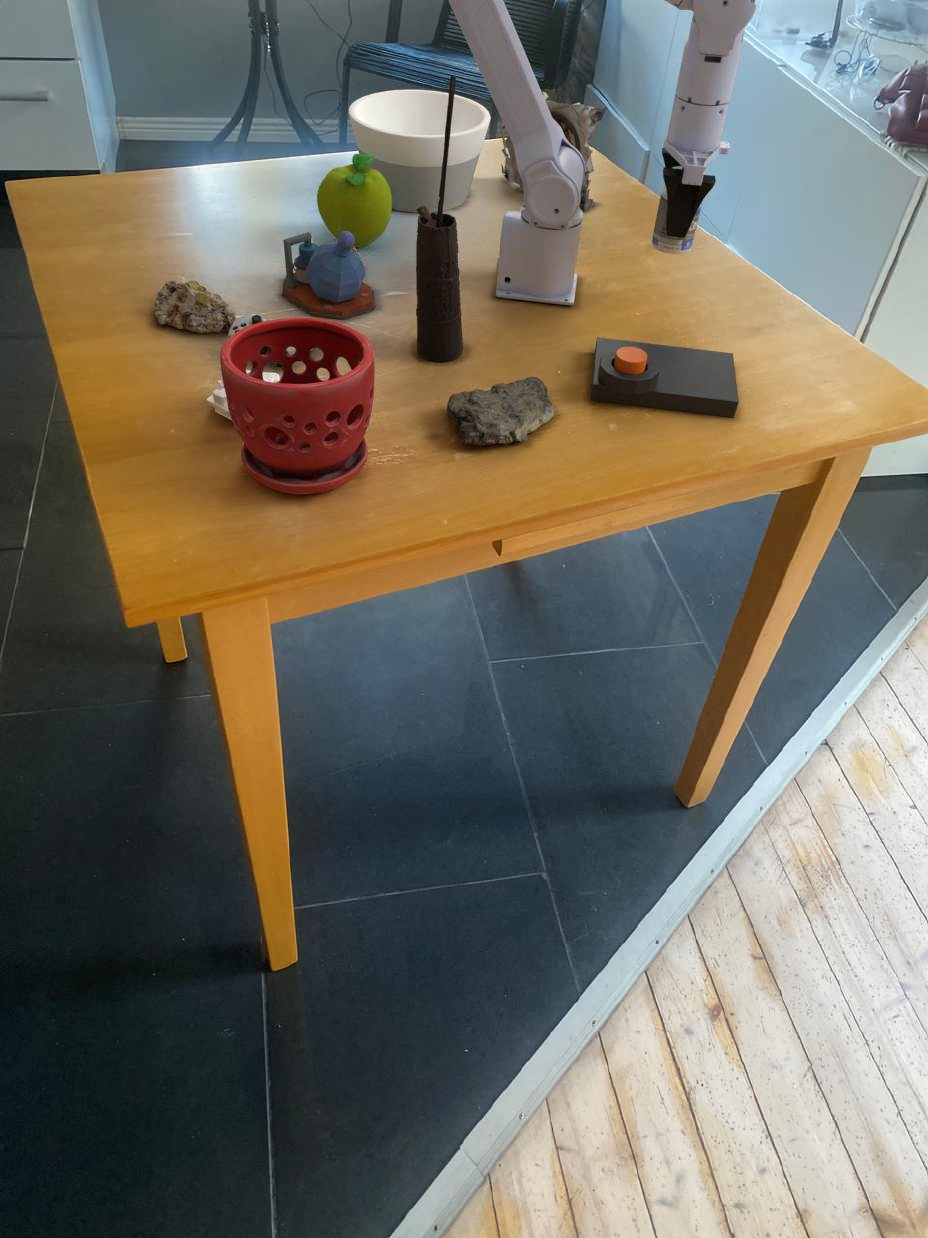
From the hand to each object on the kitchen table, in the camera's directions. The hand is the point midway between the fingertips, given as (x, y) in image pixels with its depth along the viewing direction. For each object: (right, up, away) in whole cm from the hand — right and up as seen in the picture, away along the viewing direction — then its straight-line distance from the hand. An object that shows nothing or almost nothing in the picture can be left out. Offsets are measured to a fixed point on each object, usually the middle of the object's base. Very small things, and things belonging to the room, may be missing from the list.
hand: (675, 226), depth 109 cm
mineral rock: (-55, -11, -2) cm, 56 cm away
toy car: (-46, -24, -14) cm, 54 cm away
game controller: (-45, -16, -6) cm, 48 cm away
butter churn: (-28, -15, -3) cm, 32 cm away
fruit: (-38, +4, +14) cm, 41 cm away
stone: (-21, -25, -13) cm, 35 cm away
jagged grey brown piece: (-12, +17, +29) cm, 36 cm away
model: (-40, -7, +4) cm, 41 cm away
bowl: (-31, +16, +27) cm, 44 cm away
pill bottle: (0, -2, +2) cm, 3 cm away
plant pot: (-39, -31, -20) cm, 53 cm away
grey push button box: (-3, -20, -7) cm, 21 cm away
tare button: (-7, -19, -11) cm, 23 cm away
